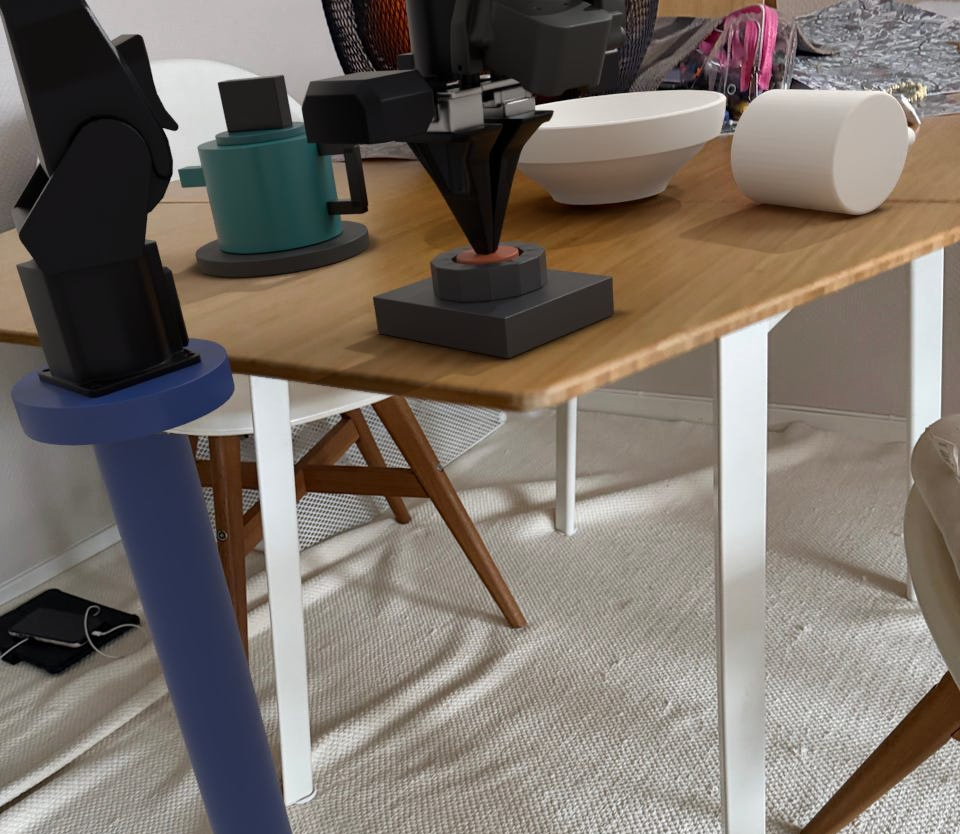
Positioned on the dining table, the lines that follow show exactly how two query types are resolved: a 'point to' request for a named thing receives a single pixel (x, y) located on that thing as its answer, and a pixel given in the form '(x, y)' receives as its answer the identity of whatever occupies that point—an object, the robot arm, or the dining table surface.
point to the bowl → (619, 143)
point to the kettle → (271, 174)
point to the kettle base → (283, 255)
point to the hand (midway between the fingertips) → (486, 253)
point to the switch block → (494, 303)
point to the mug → (821, 149)
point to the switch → (487, 256)
